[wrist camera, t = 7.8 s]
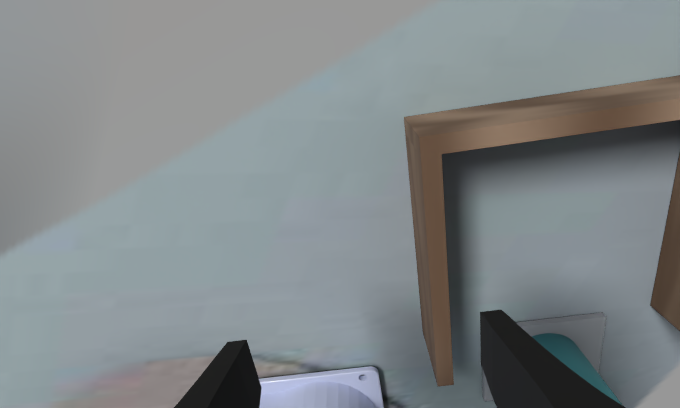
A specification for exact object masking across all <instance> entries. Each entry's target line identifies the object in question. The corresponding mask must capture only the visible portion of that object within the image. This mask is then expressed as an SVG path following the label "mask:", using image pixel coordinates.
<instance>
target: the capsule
mask: <svg viewBox="0 0 680 408" xmlns="http://www.w3.org/2000/svg"><path fill="white" fill-rule="evenodd" d="M532 337H533V338H534V339H535V340H536V341H537V342H538V343H539V344H541V345H542V346H543V347H544V348H545V349H547V350H548V351H549V352H550V353H551V354H553V355H554V356H555V357H556V358H558V359H559V360H560V361H561V362H562V363H564V364H565V365H566V366H568V367H569V368H570V369H571V370H573V371H574V372H575V373H577V374H578V375H579V376H581V377H582V378H583V379H585V380H586V381H587V382H589V383H590V384H591V385H593V386H594V387H595V388H597V389H598V390H600V391H601V392H603V393H604V394H605V395H607V396H608V397H610V398H611V399H613V400H615V401H616V402H618V403H619V404H621V403H620V401H619V400H618V399H617V397H616V396H615V395H614V393H613V392H612V391H611V390H610V388H609V387H608V386H607V384H606V383H605V382H604V380H603V379H602V378H601V376H600V375H599V374H598V373H597V371H596V370H595V369H594V367H593V366H592V365H591V363H590V362H589V361H588V359H587V358H586V357H585V355H584V354H583V353H582V352H581V350H580V349H579V348H578V346H577V345H576V344H575V343H574V341H572V340H571V339H570V338H568V337H566V336H564V335H560V334H555V333H544V334H539V335H535V336H532ZM621 405H622V404H621ZM622 406H623V405H622Z"/></svg>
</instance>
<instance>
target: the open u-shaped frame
mask: <svg viewBox="0 0 680 408" xmlns="http://www.w3.org/2000/svg"><path fill="white" fill-rule="evenodd" d="M675 120H680V75H679V76H673V77H666V78H659V79H653V80H646V81H640V82H633V83H626V84H620V85H613V86H607V87H600V88H593V89H587V90H580V91H574V92H567V93H560V94H554V95H547V96H540V97H534V98H527V99H521V100H514V101H507V102H501V103H494V104H488V105H481V106H474V107H468V108H461V109H455V110H448V111H441V112H435V113H428V114H421V115H415V116H408V117H404V123H405V134H406V146H407V157H408V169H409V180H410V191H411V203H412V214H413V225H414V237H415V248H416V260H417V271H418V282H419V294H420V305H421V316H422V328H423V334H424V338H425V341H426V345H427V349H428V352H429V356H430V360H431V363H432V367H433V371H434V374H435V378H436V382H437V385H438V386H446V385H454V381H453V362H452V343H451V324H450V305H449V286H448V267H447V248H446V229H445V210H444V191H443V172H442V154H446V153H453V152H460V151H467V150H474V149H481V148H488V147H495V146H502V145H508V144H515V143H522V142H529V141H536V140H543V139H550V138H557V137H564V136H571V135H578V134H585V133H592V132H598V131H605V130H612V129H619V128H626V127H633V126H640V125H647V124H654V123H661V122H668V121H675ZM650 306H652V307H653V308H654V309H655V310H656V311H657V312H658V313H660V314H661V315H662V316H663V317H664V318H665V319H667V320H668V321H669V322H670V323H671V324H672V325H673V326H675V327H676V328H677V329H678V330H679V331H680V155H679V160H678V165H677V170H676V176H675V181H674V186H673V191H672V196H671V201H670V207H669V212H668V217H667V222H666V227H665V233H664V238H663V243H662V248H661V253H660V258H659V264H658V269H657V274H656V279H655V284H654V289H653V295H652V300H651V305H650Z"/></svg>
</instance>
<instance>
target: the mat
mask: <svg viewBox="0 0 680 408" xmlns="http://www.w3.org/2000/svg"><path fill="white" fill-rule="evenodd" d="M516 323H517V324H518V325H519V326H520V327H521V328H522V329H523V330H525V331H526V332H527V333H528V334H529V335H530V336H531V337H532V336H535V335H539V334H544V333H555V334H560V335H564V336H566V337H568V338H570V339H571V340H572V341H574V343H575V344H576V345H577V346H578V348H579V349H580V350H581V352H582V353H583V354H584V355H585V357H586V358H587V359H588V361H589V362H590V363H591V365H592V366H593V367H594V369H595V370H596V371H597V373H598V374H599V367H600V360H601V353H602V346H603V339H604V332H605V324H606V316H605V315H604V314H603V313H602V312H601V313H593V314H584V315H576V316H567V317H558V318H550V319H541V320H533V321H524V322H516ZM482 389H483V399H484V401H493V397H492V394H491V392H490V389H489V386H488V383H487V380H486V377H485V374H484V371H483V368H482Z"/></svg>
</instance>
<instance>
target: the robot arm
mask: <svg viewBox="0 0 680 408" xmlns="http://www.w3.org/2000/svg"><path fill="white" fill-rule="evenodd" d="M480 325H481V365H482V368H483V371H484V374H485V377H486V380H487V383H488V386H489V389H490V392H491V394H492V397H493V400H494V402H495V404H496V406H497V408H625V407H624V406H622V405H621V404H619V403H618V402H616V401H615V400H613V399H611V398H610V397H608V396H607V395H605V394H604V393H603V392H601V391H600V390H598V389H597V388H595V387H594V386H593V385H591V384H590V383H589V382H587V381H586V380H585V379H583V378H582V377H581V376H579V375H578V374H577V373H575V372H574V371H573V370H571V369H570V368H569V367H568V366H566V365H565V364H564V363H562V362H561V361H560V360H559V359H558V358H556V357H555V356H554V355H553V354H551V353H550V352H549V351H548V350H547V349H545V348H544V347H543V346H542V345H541V344H539V343H538V342H537V341H536V340H535V339H534V338H533V337H531V336H530V335H529V334H528V333H527V332H526V331H525V330H523V329H522V328H521V327H520V326H519V325H518V324H517V323H516V322H515V321H513V320H512V319H511V318H510V317H509V316H508V315H507V314H506V313H505V312H503V311H502V310H494V311H486V312H480ZM361 375H364V376H361ZM174 408H384V405H383V399H382V392H381V385H380V379H379V372H378V369H376V368H375V367H372V366H369V367H360V368H351V369H342V370H333V371H324V372H315V373H306V374H297V375H288V376H279V377H270V378H261V379H259V378H258V375H257V372H256V368H255V365H254V362H253V359H252V356H251V353H250V349H249V346H248V343H247V340H241V341H233V342H227V343H226V345H225V346H224V347H223V348H222V350H221V351H220V352H219V353H218V355H217V356H216V357H215V358H214V360H213V361H212V362H211V363H210V365H209V366H208V367H207V368H206V370H205V371H204V372H203V373H202V375H201V376H200V377H199V378H198V380H197V381H196V382H195V383H194V385H193V386H192V387H191V388H190V389H189V391H188V392H187V393H186V394H185V395H184V397H183V398H182V399H181V400H180V401H179V403H178V404H177V405H176V406H175V407H174Z"/></svg>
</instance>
